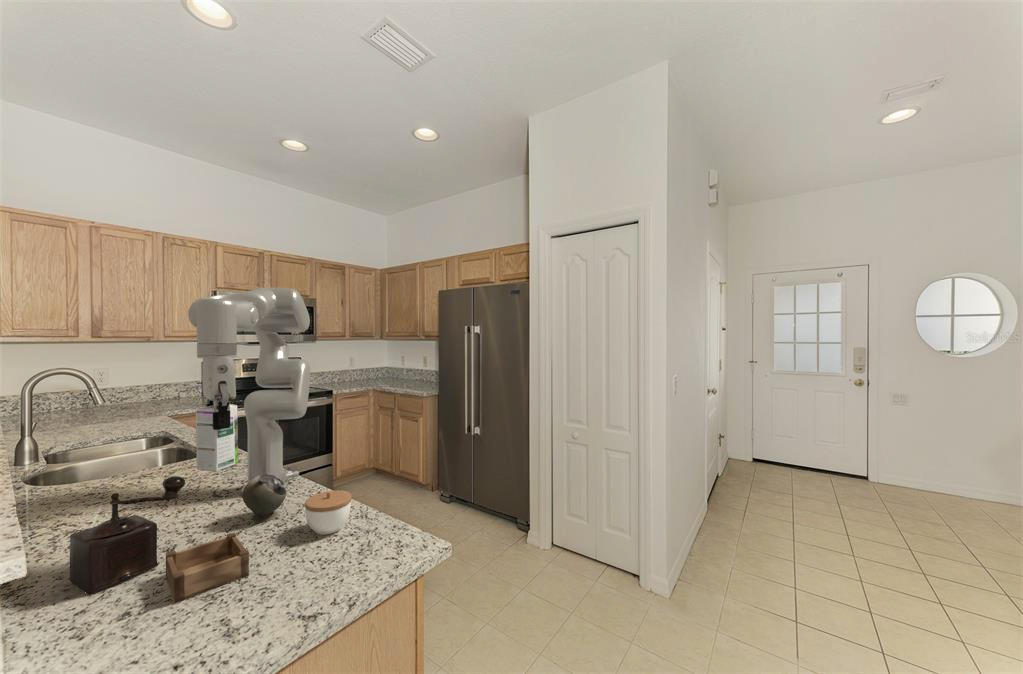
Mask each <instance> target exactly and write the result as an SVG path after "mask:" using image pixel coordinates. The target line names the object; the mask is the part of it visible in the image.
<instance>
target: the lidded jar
mask: <svg viewBox="0 0 1023 674" xmlns="http://www.w3.org/2000/svg"><path fill="white" fill-rule="evenodd" d="M304 508H305V519H306V523H307V525H308V526H309V528H310V529H311V530H313V531H314V532H315V534H316V535H321V536H325V535H333V534H335V533H337V532H338V531H340V530H341V529H342V528H343V526H344V524H346V522H347V521H348V519H349V517H350V513H351V508H352V494H351V493H350V492H349V491H345V490H330V491H324V492H323V491H322V492H319V493H316V494H314V495H312V496H310V497H308V498H307V499H306V500H305V502H304Z"/></svg>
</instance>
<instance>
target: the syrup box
mask: <svg viewBox="0 0 1023 674" xmlns="http://www.w3.org/2000/svg"><path fill="white" fill-rule="evenodd" d="M213 412H214V405H213V406H208V407H206V406H203V407H198V408H196V409H195V434H196V435H195V437H196V438H195V439H196V440H195V441H196V446H195V447H196V470H200V471H206V472H219V471H221V470H223V469H226V468H228V467H232V466H234V465H238V464H239V442H238V441H239V437H238V436H239V435H238V434H239V433H238V427H239V425H238V405H237V404H233V403H230V428H225V429H218V430H214V429H213Z"/></svg>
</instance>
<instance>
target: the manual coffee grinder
mask: <svg viewBox="0 0 1023 674" xmlns="http://www.w3.org/2000/svg"><path fill="white" fill-rule="evenodd" d="M185 485H186V480H185V478H184V477H181V476H178V475H175V476H174V475H173V476H170V477H167V478H165V479H164V480H163V481H162V487H163V490H164V493H163V495H161V496H157V497H156V496H155V497H154V496H153V497H150V496H149V497H147V496H146V497H140V498H134V499H132V498H131V499H128V500H120V498H119V497H120V494H119V493H118V492H113V493H112V494H111V495H110V499H111V500H110V502H109V505H111V517H110V518H109V519H107V520H105V521H103V522H102V523H100V524H98V525H96V526H93V527H90V528H86V529H83V530H80V531H77V532H74V533H71V534H70V537H69V581H70V583H71V584H72V585H73V586H75V587H76V588H77V589H79V590H81V591H82V590H83V591H84V592H83V591H82V592H83V593H85V592H86V593H87V595H90V594H93V595H95V594H97V593H100V592H102V591H104V590H107V589H110V588H113V587H115V586H117V585H119V584H122V583H124V582H127V581H129V580H132V579H134V578H135V577H137V576H140V575H142V574H145V573H146V572H149V571H151V570H152V569H155V568H157V567H158V566H159V564H158V523H156V522H154V521H152V520H150V519H147V518H145V517H142V516H139V515H137V514H133V515H129V516H120V515H119V505H125V506H126V505H133V504H139V503H140V504H141V503H147V502H163V501H166V502H170V501H171V500H174V499H178V498H179V494H178V492H179V491H180V490H181V489H182V488H184V487H185ZM86 593H85V594H86Z"/></svg>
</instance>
